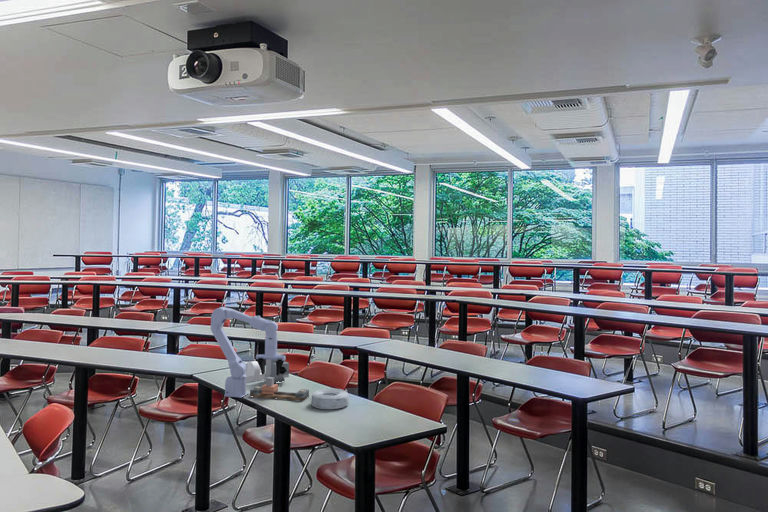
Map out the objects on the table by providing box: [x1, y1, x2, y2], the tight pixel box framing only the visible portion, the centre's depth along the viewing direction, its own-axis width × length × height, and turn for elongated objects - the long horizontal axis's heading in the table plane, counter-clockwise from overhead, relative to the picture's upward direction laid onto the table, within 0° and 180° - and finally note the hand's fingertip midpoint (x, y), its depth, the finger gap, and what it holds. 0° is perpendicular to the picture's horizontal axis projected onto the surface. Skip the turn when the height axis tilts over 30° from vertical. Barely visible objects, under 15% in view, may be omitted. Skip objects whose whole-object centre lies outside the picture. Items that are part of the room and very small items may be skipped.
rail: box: [249, 385, 310, 402], centre depth 264 cm, size 27×8×4 cm, turn 79°
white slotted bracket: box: [245, 360, 266, 383], centre depth 300 cm, size 10×18×10 cm, turn 133°
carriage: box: [261, 377, 279, 394], centre depth 265 cm, size 6×6×7 cm
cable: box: [310, 387, 350, 410], centre depth 253 cm, size 18×18×6 cm
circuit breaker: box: [264, 352, 290, 383], centre depth 293 cm, size 8×14×15 cm, turn 40°
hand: (270, 374), depth 266 cm, fingers open, 7 cm apart
